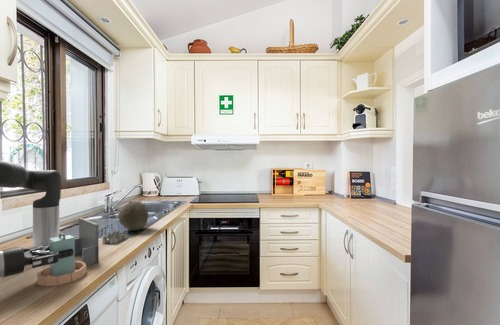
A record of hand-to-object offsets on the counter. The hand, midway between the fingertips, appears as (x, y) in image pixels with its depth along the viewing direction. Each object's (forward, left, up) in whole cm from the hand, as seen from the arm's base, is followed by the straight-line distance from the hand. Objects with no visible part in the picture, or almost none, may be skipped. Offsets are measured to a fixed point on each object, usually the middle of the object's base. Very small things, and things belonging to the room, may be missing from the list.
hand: (68, 248), depth 84 cm
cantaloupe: (-53, +7, -9) cm, 54 cm away
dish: (+1, -1, -8) cm, 9 cm away
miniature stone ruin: (-37, +3, -9) cm, 38 cm away
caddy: (+1, -1, -8) cm, 8 cm away
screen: (-15, -2, -8) cm, 17 cm away
